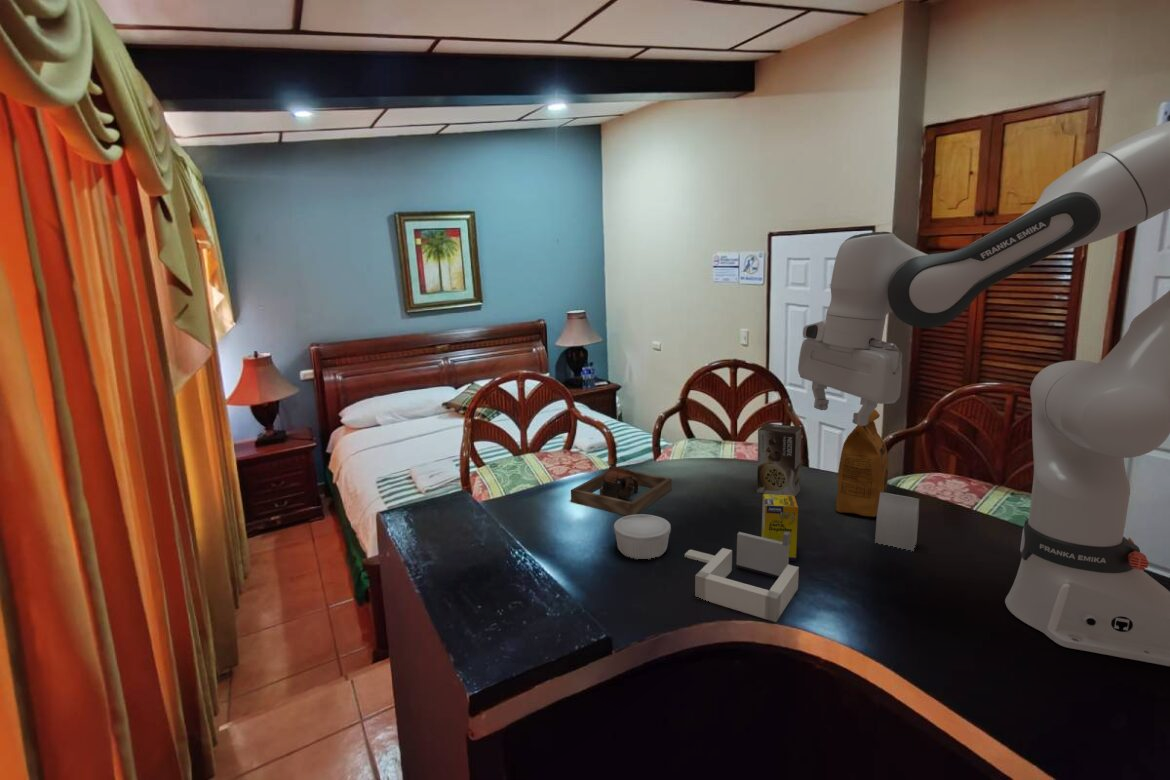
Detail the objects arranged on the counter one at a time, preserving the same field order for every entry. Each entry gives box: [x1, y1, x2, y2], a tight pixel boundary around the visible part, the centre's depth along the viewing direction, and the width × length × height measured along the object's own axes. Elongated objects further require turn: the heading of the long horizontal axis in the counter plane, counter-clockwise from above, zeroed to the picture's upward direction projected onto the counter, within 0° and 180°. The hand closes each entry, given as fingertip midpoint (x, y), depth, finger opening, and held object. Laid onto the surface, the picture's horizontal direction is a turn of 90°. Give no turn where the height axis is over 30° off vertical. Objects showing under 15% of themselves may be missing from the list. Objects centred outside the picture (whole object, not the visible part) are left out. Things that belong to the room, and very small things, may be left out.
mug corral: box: [570, 469, 673, 516], centre depth 146 cm, size 17×19×3 cm
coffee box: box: [756, 423, 803, 497], centre depth 145 cm, size 9×6×16 cm
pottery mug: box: [599, 466, 640, 500], centre depth 146 cm, size 12×10×8 cm
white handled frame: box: [684, 547, 800, 623], centre depth 105 cm, size 21×14×4 cm
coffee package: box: [835, 409, 890, 518], centre depth 133 cm, size 10×12×22 cm
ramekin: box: [613, 513, 672, 560], centre depth 119 cm, size 11×11×5 cm
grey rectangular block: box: [874, 492, 920, 552], centre depth 117 cm, size 4×7×10 cm, turn 54°
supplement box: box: [761, 493, 799, 562], centre depth 115 cm, size 6×6×11 cm
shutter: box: [736, 531, 790, 577], centre depth 107 cm, size 9×1×8 cm, turn 55°
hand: (839, 416), depth 101 cm, fingers open, 8 cm apart
